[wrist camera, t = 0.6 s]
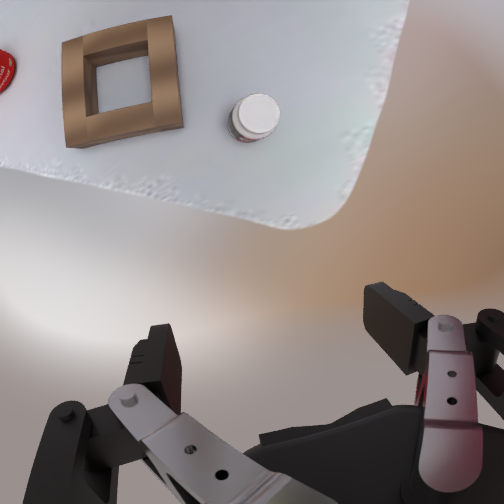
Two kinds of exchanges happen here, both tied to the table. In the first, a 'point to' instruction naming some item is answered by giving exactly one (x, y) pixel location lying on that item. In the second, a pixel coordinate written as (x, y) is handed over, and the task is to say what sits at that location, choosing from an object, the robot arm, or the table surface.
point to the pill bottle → (253, 118)
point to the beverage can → (6, 68)
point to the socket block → (109, 51)
